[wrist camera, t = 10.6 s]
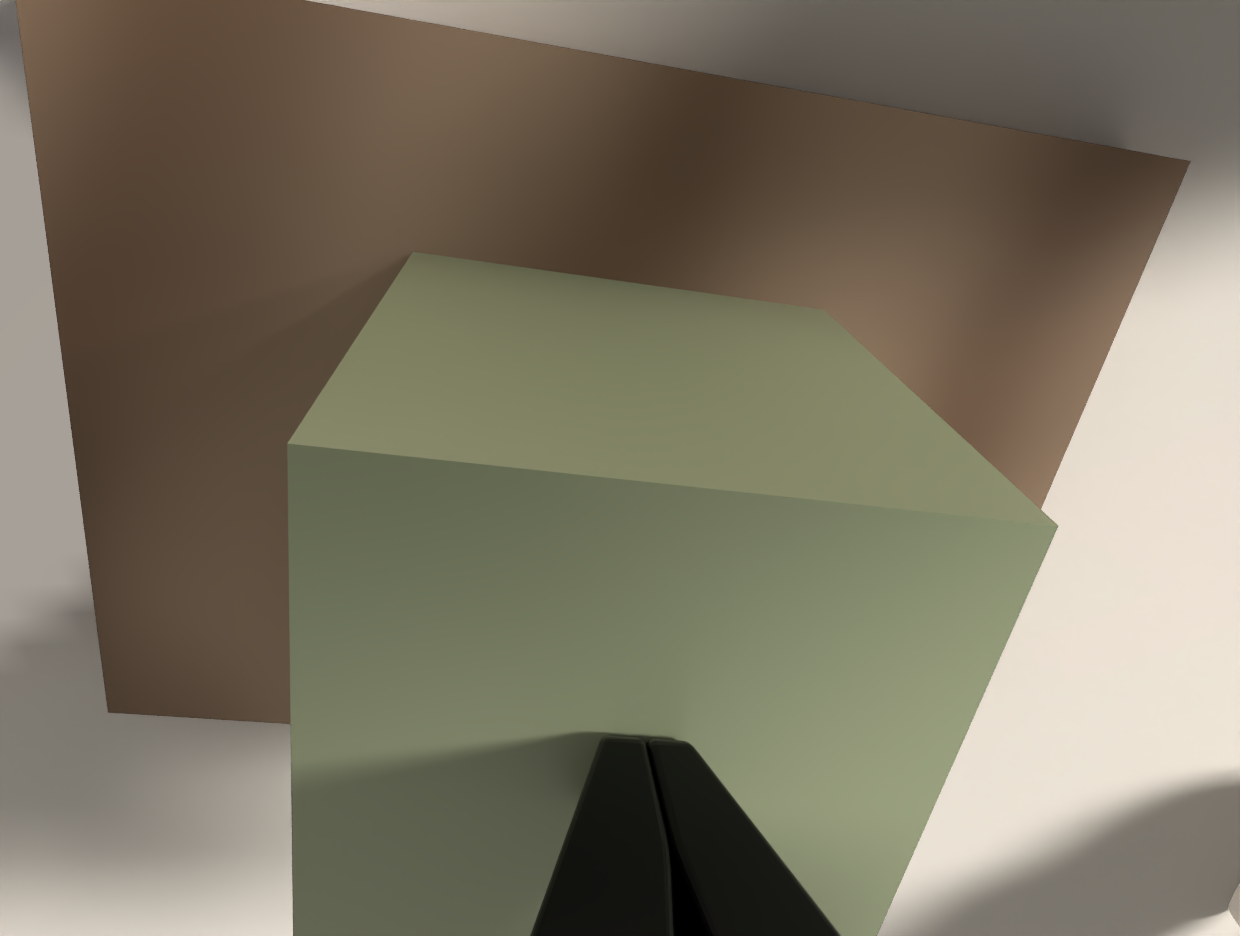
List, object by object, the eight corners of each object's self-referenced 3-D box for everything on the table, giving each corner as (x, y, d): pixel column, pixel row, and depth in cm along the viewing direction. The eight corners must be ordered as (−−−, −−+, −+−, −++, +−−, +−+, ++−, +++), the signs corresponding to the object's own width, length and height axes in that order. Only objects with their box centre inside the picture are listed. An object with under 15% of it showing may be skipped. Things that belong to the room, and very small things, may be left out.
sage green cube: (823, 309, 13) (1057, 526, 7) (735, 634, 16) (853, 989, 10) (413, 251, 12) (286, 443, 6) (394, 606, 15) (293, 978, 9)
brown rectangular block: (1127, 150, 14) (1580, 226, 8) (903, 713, 19) (1071, 1021, 13) (71, -42, 11) (-451, -145, 5) (143, 658, 17) (-84, 1003, 11)
